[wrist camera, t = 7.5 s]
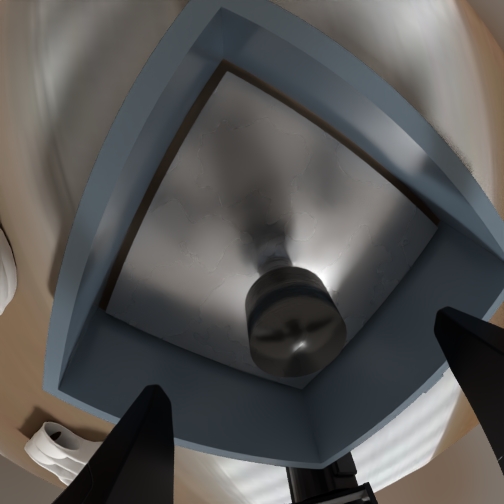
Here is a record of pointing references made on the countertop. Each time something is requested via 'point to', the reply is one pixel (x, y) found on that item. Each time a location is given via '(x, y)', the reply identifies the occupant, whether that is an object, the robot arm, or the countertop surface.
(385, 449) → the countertop surface
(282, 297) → the lid with knob
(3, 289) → the bottle
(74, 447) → the white muffin tray
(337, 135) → the serving board
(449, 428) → the countertop surface
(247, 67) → the blue grey open box
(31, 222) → the countertop surface
